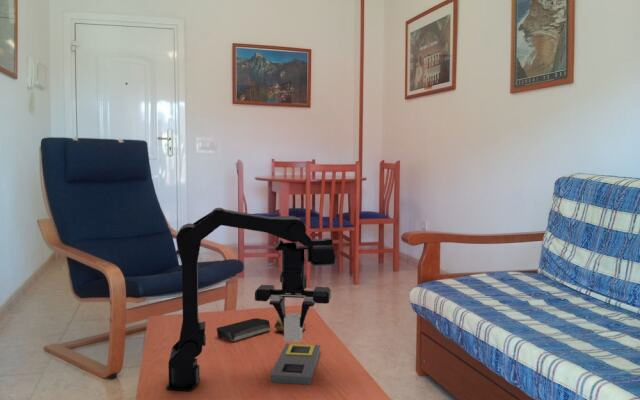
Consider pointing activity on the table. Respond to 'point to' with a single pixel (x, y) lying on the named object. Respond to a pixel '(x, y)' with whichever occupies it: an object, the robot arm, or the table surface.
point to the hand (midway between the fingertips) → (293, 326)
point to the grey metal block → (292, 327)
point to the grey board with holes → (296, 364)
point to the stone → (280, 326)
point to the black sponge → (243, 329)
